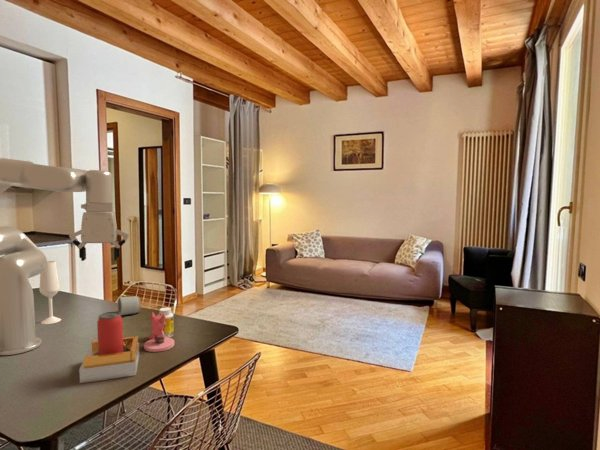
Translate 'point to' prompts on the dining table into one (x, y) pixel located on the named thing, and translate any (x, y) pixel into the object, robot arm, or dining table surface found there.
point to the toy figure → (158, 335)
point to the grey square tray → (110, 362)
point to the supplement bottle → (167, 321)
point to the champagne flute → (49, 288)
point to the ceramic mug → (129, 305)
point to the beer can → (110, 333)
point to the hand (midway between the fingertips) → (100, 259)
